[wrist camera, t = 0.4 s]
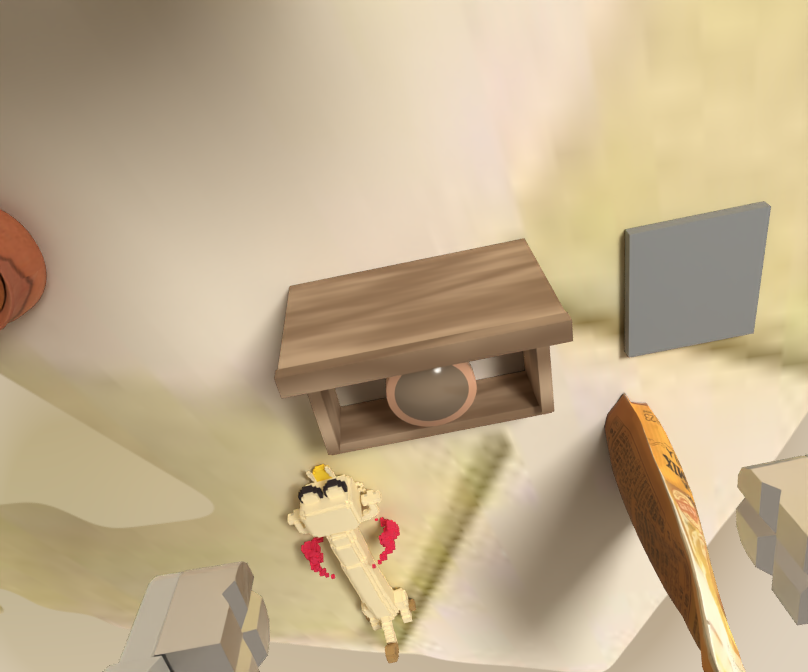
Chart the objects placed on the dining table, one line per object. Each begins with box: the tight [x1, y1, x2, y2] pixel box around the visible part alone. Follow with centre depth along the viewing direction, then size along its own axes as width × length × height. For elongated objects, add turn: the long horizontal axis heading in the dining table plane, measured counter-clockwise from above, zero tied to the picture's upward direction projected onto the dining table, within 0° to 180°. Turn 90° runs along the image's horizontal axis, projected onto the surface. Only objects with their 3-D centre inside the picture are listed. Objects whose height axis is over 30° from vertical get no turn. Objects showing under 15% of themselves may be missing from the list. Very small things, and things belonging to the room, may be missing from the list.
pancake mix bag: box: [604, 393, 745, 672], centre depth 53 cm, size 7×19×28 cm, turn 22°
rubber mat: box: [625, 201, 771, 357], centre depth 54 cm, size 12×11×1 cm
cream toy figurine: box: [287, 464, 416, 663], centre depth 66 cm, size 10×9×25 cm
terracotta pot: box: [386, 362, 477, 427], centre depth 52 cm, size 7×7×8 cm
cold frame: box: [274, 238, 573, 455], centre depth 50 cm, size 14×19×13 cm
